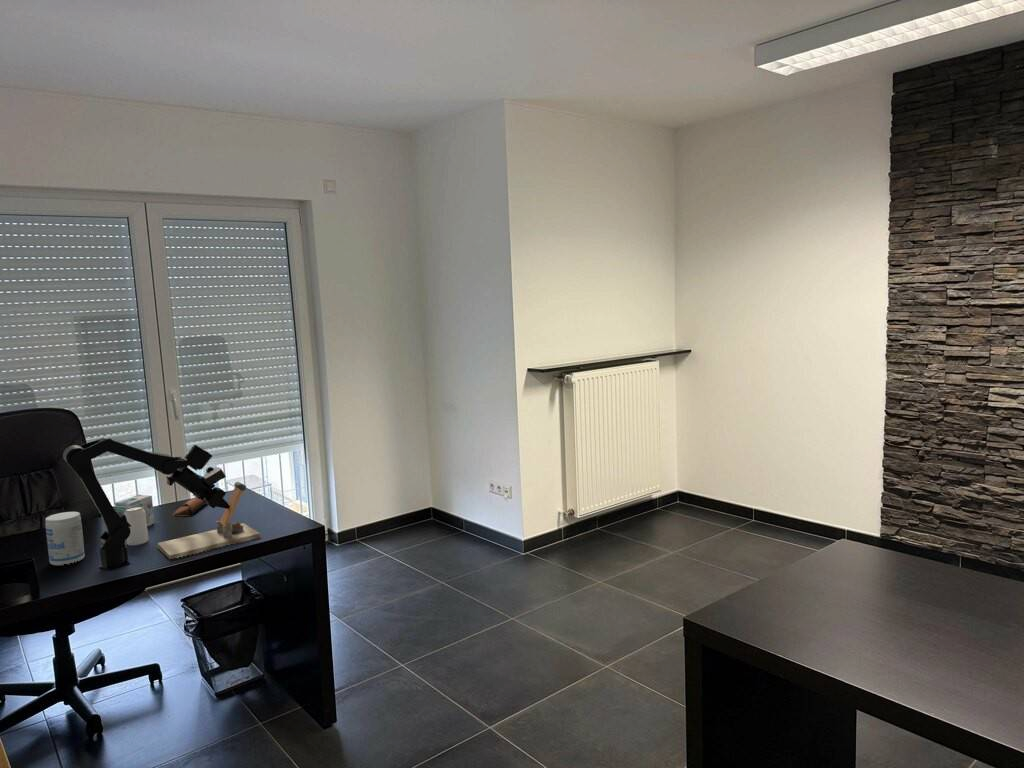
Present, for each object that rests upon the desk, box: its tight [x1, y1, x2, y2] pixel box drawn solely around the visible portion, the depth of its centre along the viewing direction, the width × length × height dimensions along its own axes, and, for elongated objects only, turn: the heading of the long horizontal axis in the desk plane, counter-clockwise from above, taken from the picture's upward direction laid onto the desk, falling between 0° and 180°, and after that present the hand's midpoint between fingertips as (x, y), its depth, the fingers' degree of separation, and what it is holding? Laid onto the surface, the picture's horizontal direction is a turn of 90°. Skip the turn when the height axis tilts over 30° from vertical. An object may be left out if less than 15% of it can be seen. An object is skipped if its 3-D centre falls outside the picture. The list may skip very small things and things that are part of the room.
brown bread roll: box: [171, 496, 207, 516], centre depth 277 cm, size 18×7×7 cm
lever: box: [219, 481, 247, 525], centre depth 241 cm, size 2×6×14 cm, turn 39°
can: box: [124, 506, 149, 547], centre depth 239 cm, size 6×6×12 cm
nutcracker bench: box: [157, 520, 261, 560], centre depth 236 cm, size 28×16×6 cm, turn 129°
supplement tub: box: [45, 511, 86, 566], centre depth 225 cm, size 10×10×15 cm
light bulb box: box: [114, 494, 155, 527], centre depth 257 cm, size 11×7×11 cm, turn 161°
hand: (228, 507), depth 240 cm, fingers closed, pressing on lever
